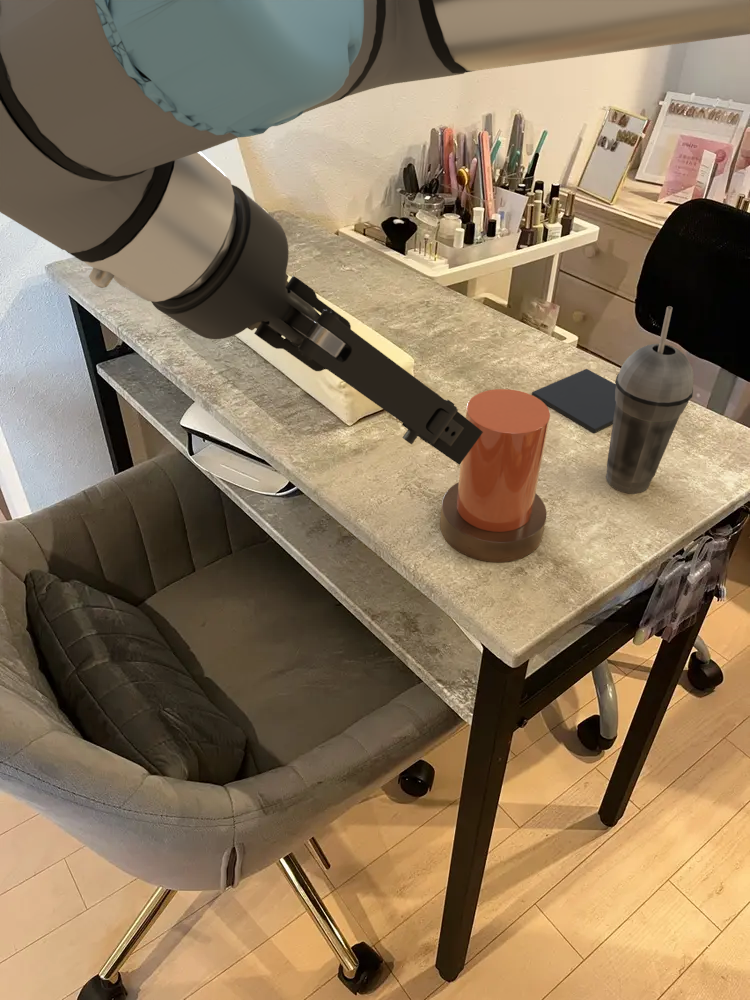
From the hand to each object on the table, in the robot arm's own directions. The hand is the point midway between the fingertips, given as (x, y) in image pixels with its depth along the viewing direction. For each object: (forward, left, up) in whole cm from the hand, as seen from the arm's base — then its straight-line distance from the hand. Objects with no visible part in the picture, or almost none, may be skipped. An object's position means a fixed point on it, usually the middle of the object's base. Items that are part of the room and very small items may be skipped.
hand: (404, 402), depth 56 cm
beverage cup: (-2, -30, -20) cm, 36 cm away
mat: (+11, -39, -20) cm, 45 cm away
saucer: (+1, -13, -20) cm, 23 cm away
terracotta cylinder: (+1, -13, -17) cm, 21 cm away
